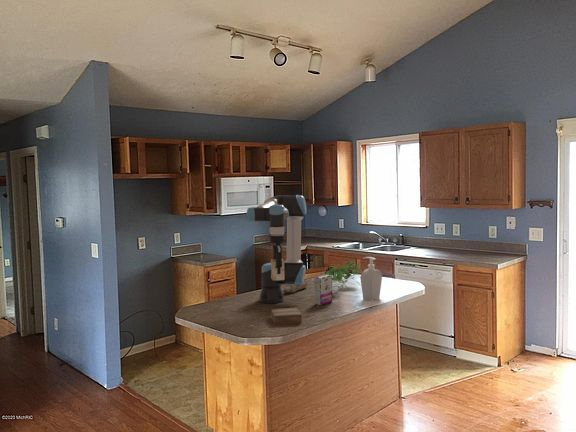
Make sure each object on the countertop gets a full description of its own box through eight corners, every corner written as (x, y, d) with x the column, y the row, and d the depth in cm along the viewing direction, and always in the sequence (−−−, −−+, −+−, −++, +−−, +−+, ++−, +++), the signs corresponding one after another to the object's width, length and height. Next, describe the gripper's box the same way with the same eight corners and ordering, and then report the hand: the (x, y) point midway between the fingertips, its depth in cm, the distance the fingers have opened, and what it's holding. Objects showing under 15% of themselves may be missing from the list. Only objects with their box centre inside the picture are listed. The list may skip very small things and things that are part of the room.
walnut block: (271, 318, 276) (271, 309, 275) (296, 316, 278) (296, 307, 277) (274, 325, 262) (274, 316, 261) (301, 324, 264) (301, 314, 264)
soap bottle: (367, 295, 323) (368, 255, 321) (382, 297, 317) (382, 256, 315) (357, 299, 314) (357, 257, 312) (372, 301, 307) (372, 259, 305)
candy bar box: (325, 300, 311) (325, 274, 310) (332, 302, 307) (332, 275, 306) (314, 304, 303) (314, 277, 301) (320, 305, 299) (320, 278, 298)
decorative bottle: (298, 287, 350) (298, 277, 349) (307, 288, 346) (307, 278, 346) (278, 295, 328) (277, 284, 327) (288, 296, 324) (288, 286, 324)
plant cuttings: (364, 295, 353) (341, 273, 362) (377, 277, 346) (354, 255, 355) (338, 306, 324) (315, 282, 334) (353, 287, 317) (328, 263, 327)
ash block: (271, 278, 269) (270, 259, 268) (282, 277, 270) (282, 259, 269) (273, 280, 263) (272, 261, 262) (284, 280, 264) (284, 260, 263)
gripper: (267, 232, 273) (267, 275, 275) (272, 237, 255) (273, 282, 257) (281, 232, 275) (281, 274, 277) (287, 236, 256) (288, 282, 258)
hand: (277, 278), depth 267 cm, fingers closed on ash block, 6 cm apart
